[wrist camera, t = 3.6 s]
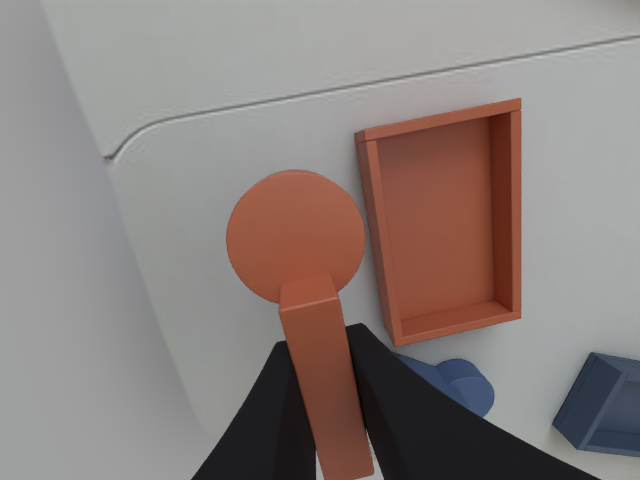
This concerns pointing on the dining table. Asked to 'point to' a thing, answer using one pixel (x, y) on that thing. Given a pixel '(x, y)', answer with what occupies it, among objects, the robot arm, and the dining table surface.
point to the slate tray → (604, 407)
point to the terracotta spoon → (309, 299)
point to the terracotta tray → (445, 219)
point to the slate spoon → (457, 382)
